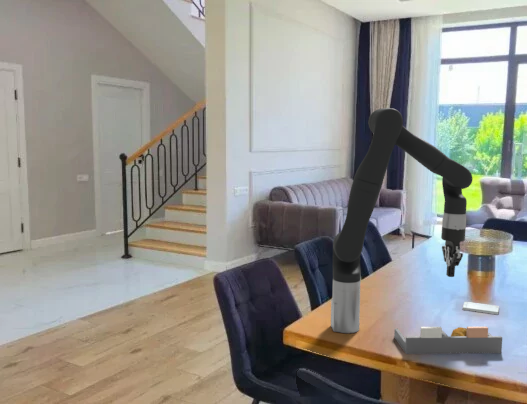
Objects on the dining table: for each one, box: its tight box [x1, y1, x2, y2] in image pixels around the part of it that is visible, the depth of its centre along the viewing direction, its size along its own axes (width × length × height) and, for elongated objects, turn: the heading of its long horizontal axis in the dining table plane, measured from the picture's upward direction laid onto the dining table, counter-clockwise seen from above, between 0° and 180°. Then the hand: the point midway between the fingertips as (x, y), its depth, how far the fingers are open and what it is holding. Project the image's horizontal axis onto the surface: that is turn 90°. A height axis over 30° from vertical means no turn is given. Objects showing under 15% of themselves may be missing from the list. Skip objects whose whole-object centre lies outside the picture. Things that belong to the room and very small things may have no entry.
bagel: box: [450, 326, 467, 336], centre depth 163 cm, size 10×11×5 cm
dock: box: [393, 326, 503, 355], centre depth 163 cm, size 29×13×8 cm, turn 91°
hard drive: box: [461, 301, 500, 316], centre depth 198 cm, size 2×8×12 cm
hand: (450, 276), depth 178 cm, fingers closed
